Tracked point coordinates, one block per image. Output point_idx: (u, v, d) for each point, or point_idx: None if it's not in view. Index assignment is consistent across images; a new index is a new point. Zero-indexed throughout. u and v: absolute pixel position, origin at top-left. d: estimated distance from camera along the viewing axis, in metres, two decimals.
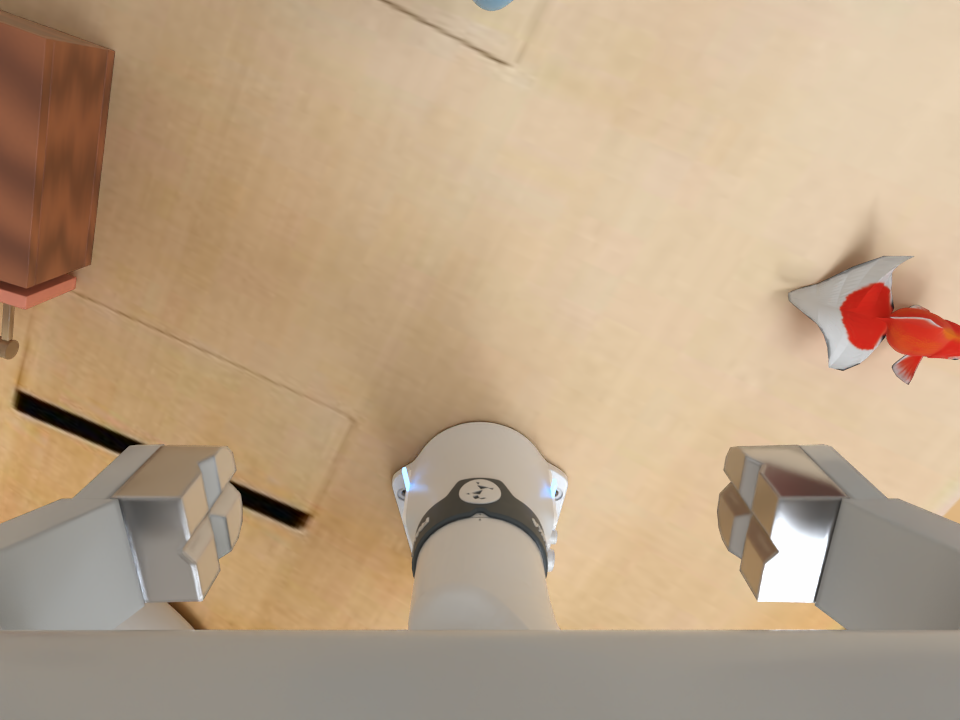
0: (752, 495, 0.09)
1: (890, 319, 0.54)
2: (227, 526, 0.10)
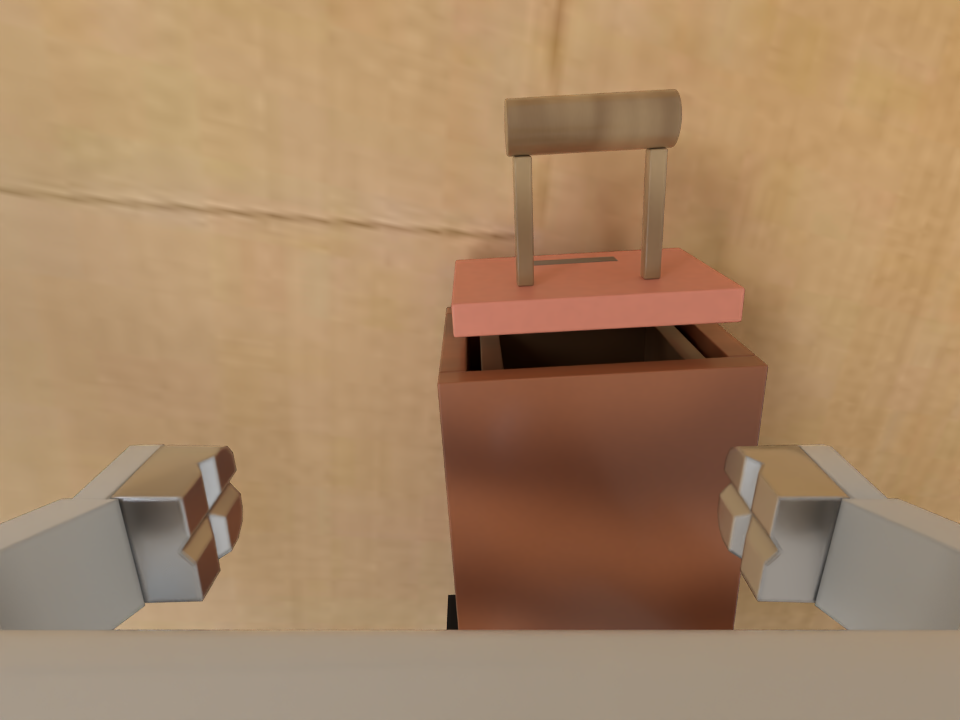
0: (752, 495, 0.09)
1: None
2: (227, 526, 0.10)
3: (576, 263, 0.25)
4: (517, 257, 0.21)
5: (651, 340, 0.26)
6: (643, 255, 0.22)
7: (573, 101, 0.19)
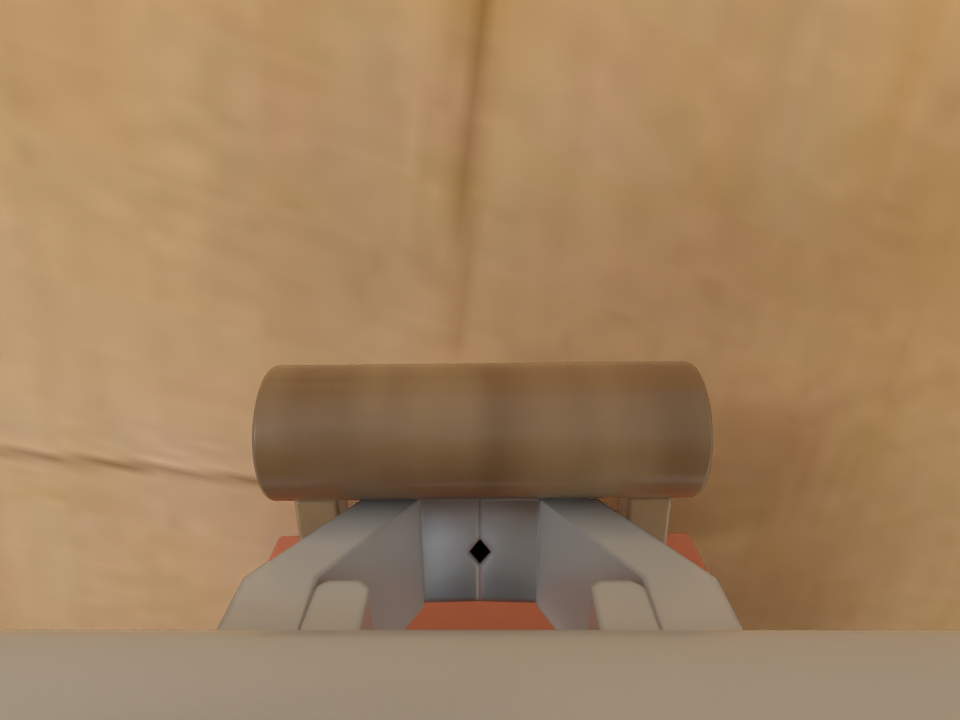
0: None
1: None
2: None
3: None
4: None
5: None
6: None
7: (430, 403, 0.07)
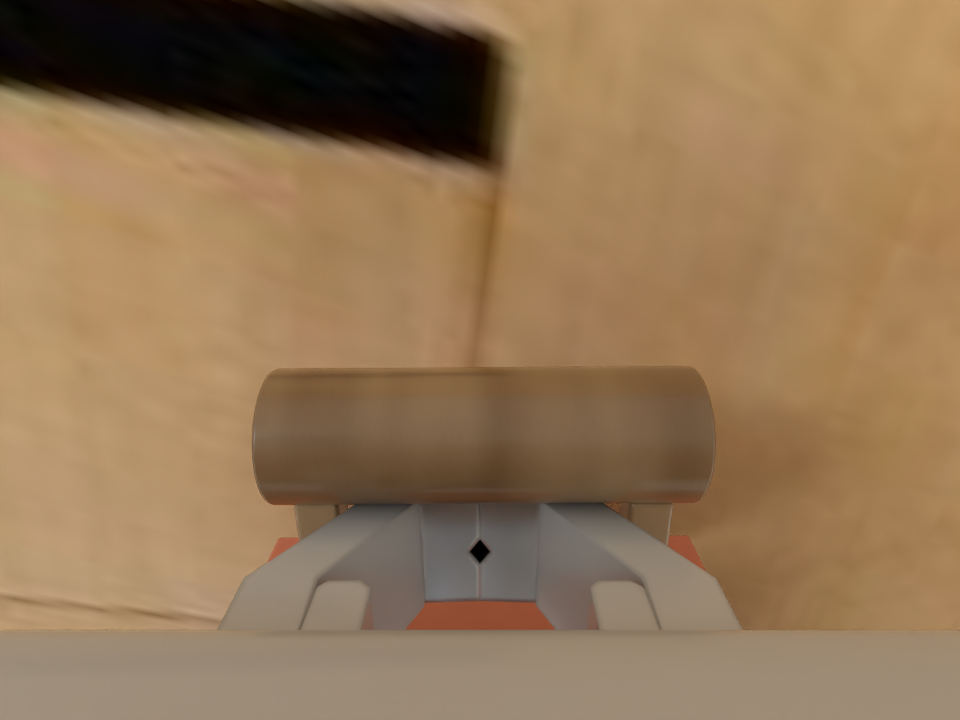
0: None
1: None
2: None
3: None
4: None
5: None
6: None
7: (432, 407, 0.07)
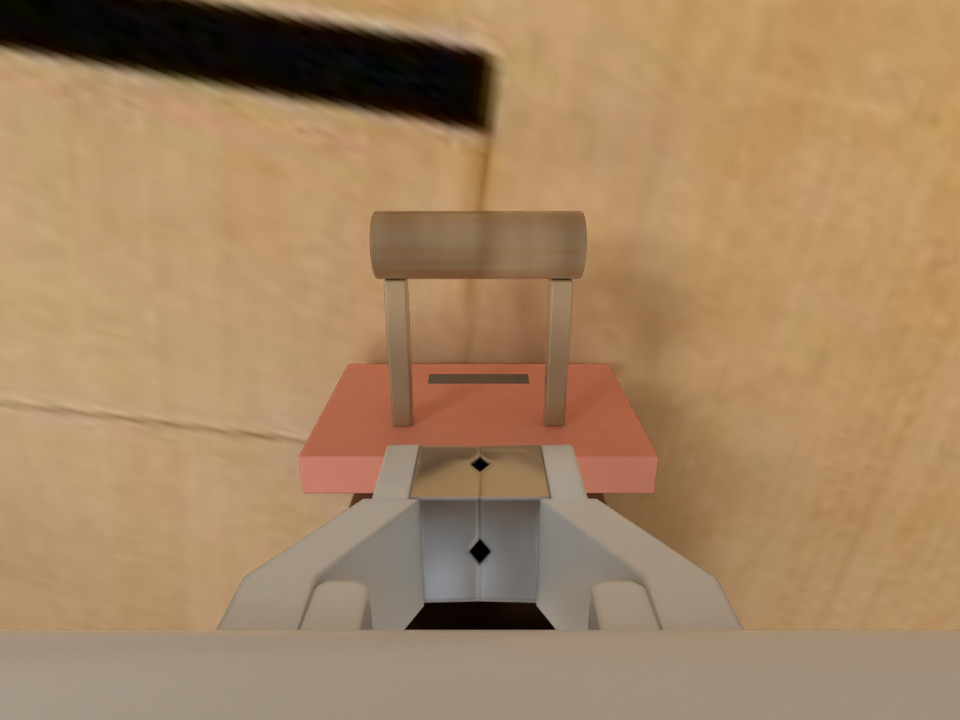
0: None
1: None
2: None
3: (480, 384, 0.21)
4: (391, 394, 0.18)
5: None
6: (545, 398, 0.18)
7: (454, 222, 0.16)
